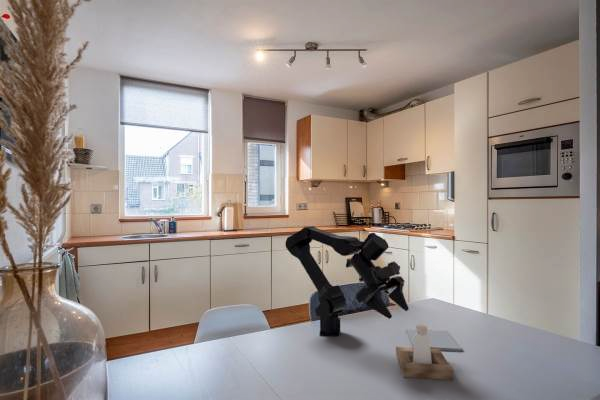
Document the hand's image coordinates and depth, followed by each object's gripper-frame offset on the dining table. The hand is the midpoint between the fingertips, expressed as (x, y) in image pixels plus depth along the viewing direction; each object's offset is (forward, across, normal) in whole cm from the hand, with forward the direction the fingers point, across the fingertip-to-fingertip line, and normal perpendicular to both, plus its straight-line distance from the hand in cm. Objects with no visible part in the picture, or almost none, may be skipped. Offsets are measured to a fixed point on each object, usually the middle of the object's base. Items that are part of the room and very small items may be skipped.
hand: (399, 313), depth 93 cm
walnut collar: (+14, 0, +4) cm, 14 cm away
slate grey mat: (+10, +18, +8) cm, 22 cm away
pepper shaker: (+14, 0, +4) cm, 15 cm away
